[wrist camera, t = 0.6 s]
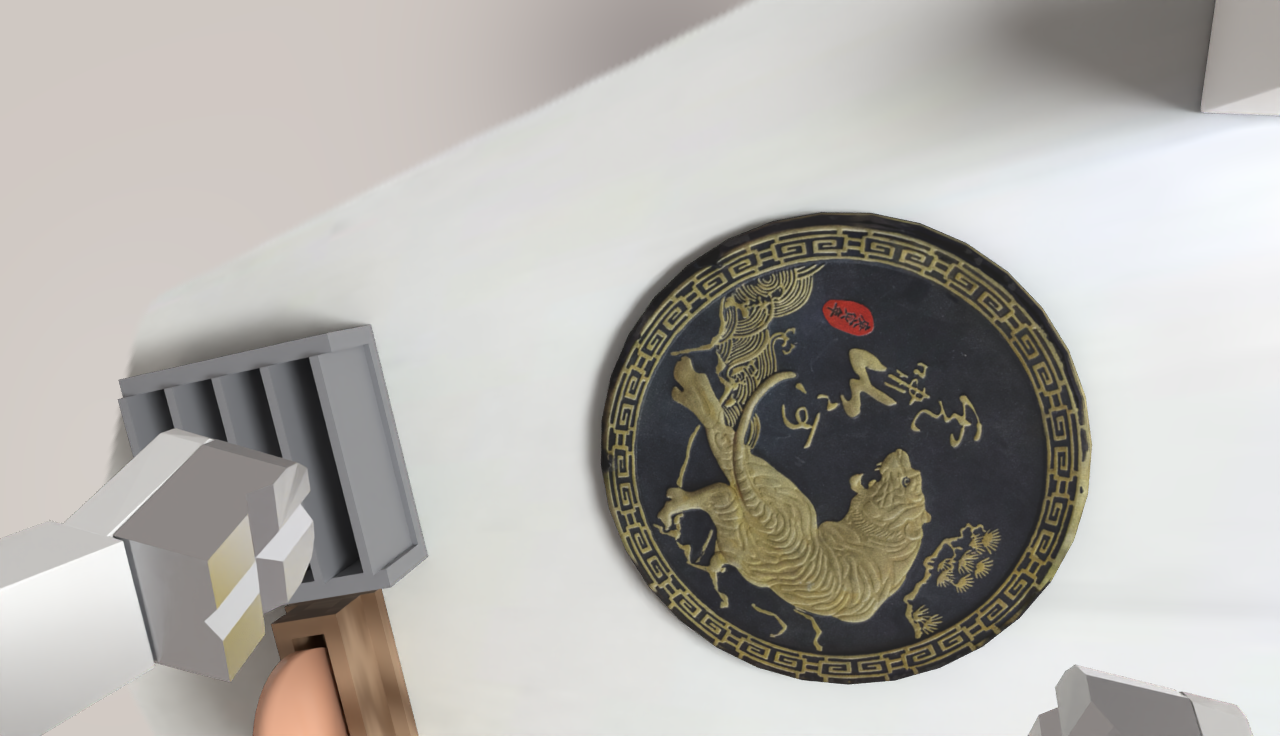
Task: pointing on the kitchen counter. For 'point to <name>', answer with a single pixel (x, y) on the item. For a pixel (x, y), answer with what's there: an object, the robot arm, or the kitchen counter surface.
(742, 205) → the kitchen counter surface
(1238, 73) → the milk carton
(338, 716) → the terracotta plate
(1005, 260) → the kitchen counter surface
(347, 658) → the walnut plate stand
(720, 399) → the decorative plate
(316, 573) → the charcoal dish rack
